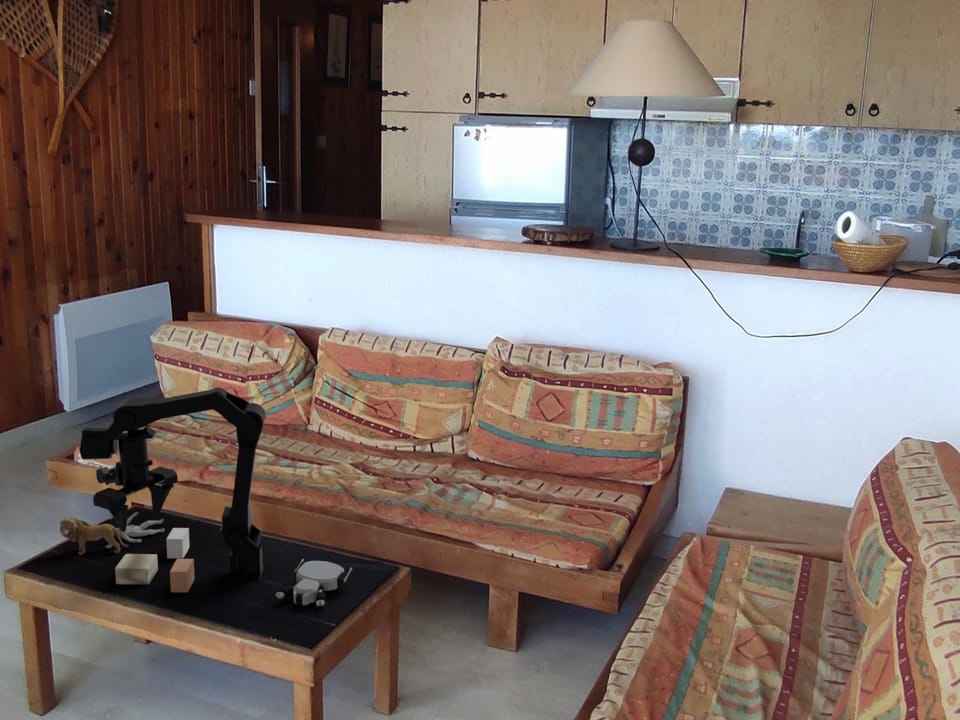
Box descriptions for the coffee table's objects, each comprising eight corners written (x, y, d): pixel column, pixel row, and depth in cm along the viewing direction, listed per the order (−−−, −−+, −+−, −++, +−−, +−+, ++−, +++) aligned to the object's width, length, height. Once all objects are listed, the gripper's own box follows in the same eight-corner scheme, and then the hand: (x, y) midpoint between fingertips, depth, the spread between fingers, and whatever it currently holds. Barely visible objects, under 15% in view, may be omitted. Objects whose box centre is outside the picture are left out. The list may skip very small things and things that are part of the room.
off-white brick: (189, 547, 222) (188, 528, 221) (183, 558, 216) (182, 539, 215) (174, 547, 222) (173, 528, 221) (167, 558, 216) (166, 538, 215)
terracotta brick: (194, 579, 207) (193, 558, 206) (187, 592, 201) (186, 571, 200) (178, 579, 207) (177, 558, 206) (170, 592, 201) (169, 571, 200)
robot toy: (324, 618, 195) (353, 581, 208) (323, 599, 193) (353, 563, 207) (272, 608, 198) (304, 572, 212) (271, 589, 197) (303, 554, 210)
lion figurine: (60, 559, 214) (57, 523, 212) (63, 549, 219) (60, 514, 216) (128, 552, 218) (126, 517, 216) (129, 543, 223) (127, 508, 221)
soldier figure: (166, 541, 227) (119, 539, 219) (157, 549, 230) (110, 548, 221) (163, 512, 231) (116, 509, 222) (153, 520, 233) (107, 518, 225)
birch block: (158, 570, 211) (157, 554, 210) (148, 585, 204) (147, 568, 203) (126, 570, 210) (125, 553, 210) (116, 584, 204) (115, 568, 203)
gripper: (141, 438, 212) (147, 501, 216) (72, 464, 196) (79, 531, 200) (176, 446, 207) (182, 511, 211) (108, 473, 191) (115, 543, 195)
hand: (140, 523), depth 204 cm, fingers open, 9 cm apart
